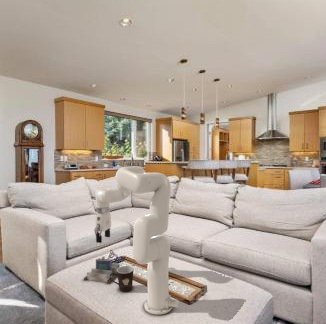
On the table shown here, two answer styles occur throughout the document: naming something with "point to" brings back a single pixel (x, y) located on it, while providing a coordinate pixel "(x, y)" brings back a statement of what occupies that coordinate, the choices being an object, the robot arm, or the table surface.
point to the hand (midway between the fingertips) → (103, 239)
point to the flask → (103, 264)
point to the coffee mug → (124, 278)
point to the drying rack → (102, 274)
